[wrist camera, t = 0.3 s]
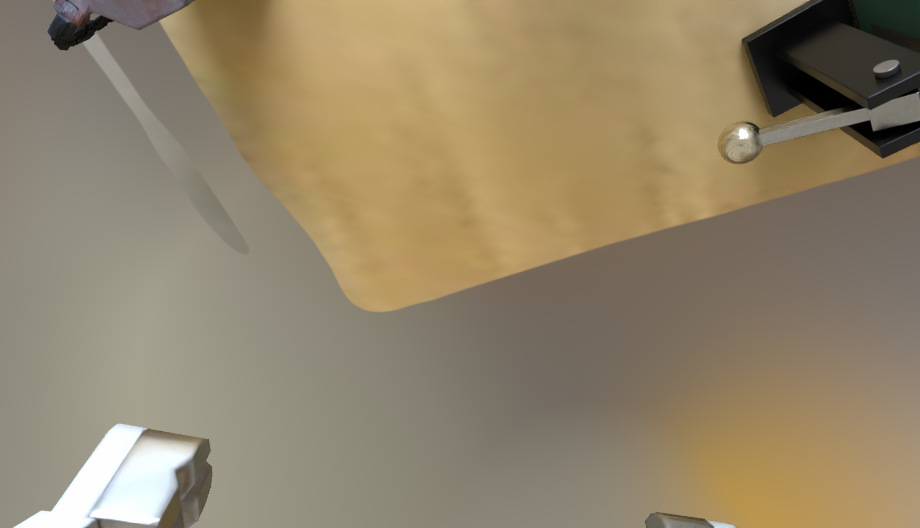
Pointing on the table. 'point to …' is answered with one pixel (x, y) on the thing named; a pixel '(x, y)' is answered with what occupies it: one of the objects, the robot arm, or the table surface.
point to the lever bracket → (833, 69)
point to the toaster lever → (815, 126)
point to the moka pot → (105, 17)
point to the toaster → (889, 20)
